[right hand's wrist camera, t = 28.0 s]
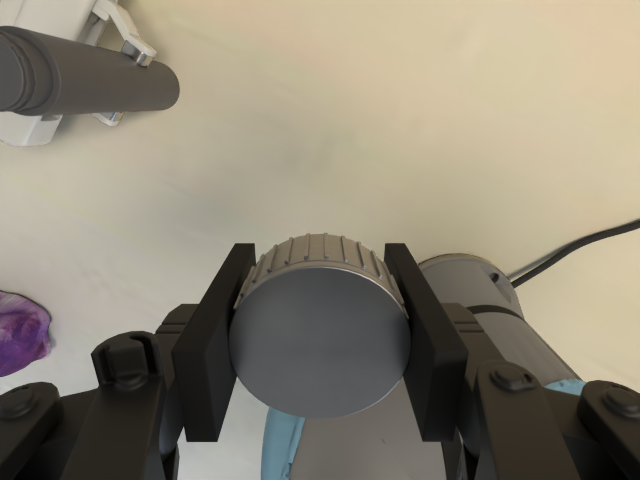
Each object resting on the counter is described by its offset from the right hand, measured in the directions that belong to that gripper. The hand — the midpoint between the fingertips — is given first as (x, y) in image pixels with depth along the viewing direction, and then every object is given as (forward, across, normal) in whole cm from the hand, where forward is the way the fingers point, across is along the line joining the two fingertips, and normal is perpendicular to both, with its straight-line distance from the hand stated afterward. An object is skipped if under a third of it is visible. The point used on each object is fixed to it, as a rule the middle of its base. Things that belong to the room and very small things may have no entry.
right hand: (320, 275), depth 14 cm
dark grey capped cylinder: (+27, +16, -8) cm, 32 cm away
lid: (-4, 0, 0) cm, 4 cm away
